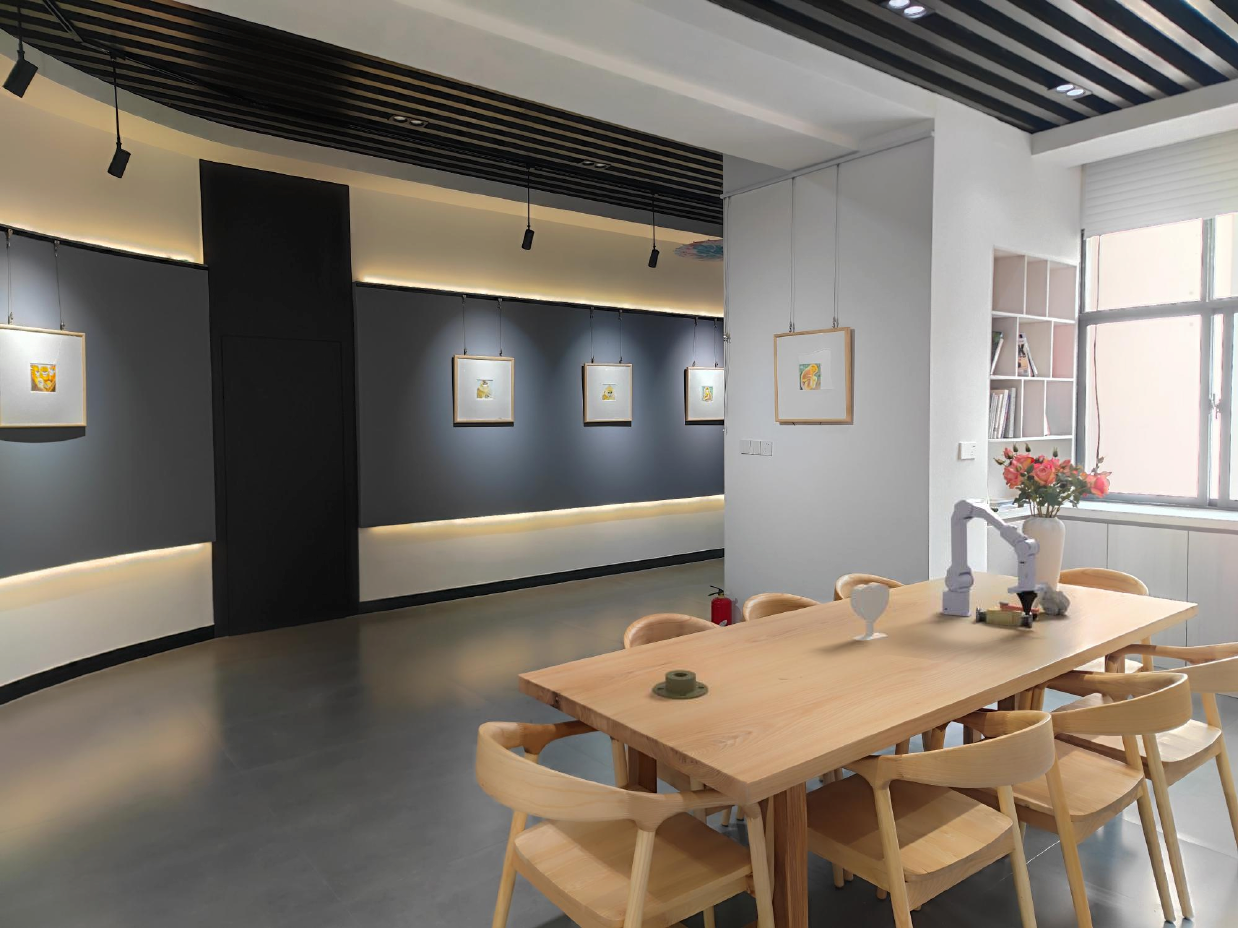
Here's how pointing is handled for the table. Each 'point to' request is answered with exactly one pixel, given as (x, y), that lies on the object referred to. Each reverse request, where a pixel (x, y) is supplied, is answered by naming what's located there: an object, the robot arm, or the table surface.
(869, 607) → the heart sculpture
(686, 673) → the flange
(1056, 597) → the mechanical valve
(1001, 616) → the valve pipe
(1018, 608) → the lever
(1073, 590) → the table surface
